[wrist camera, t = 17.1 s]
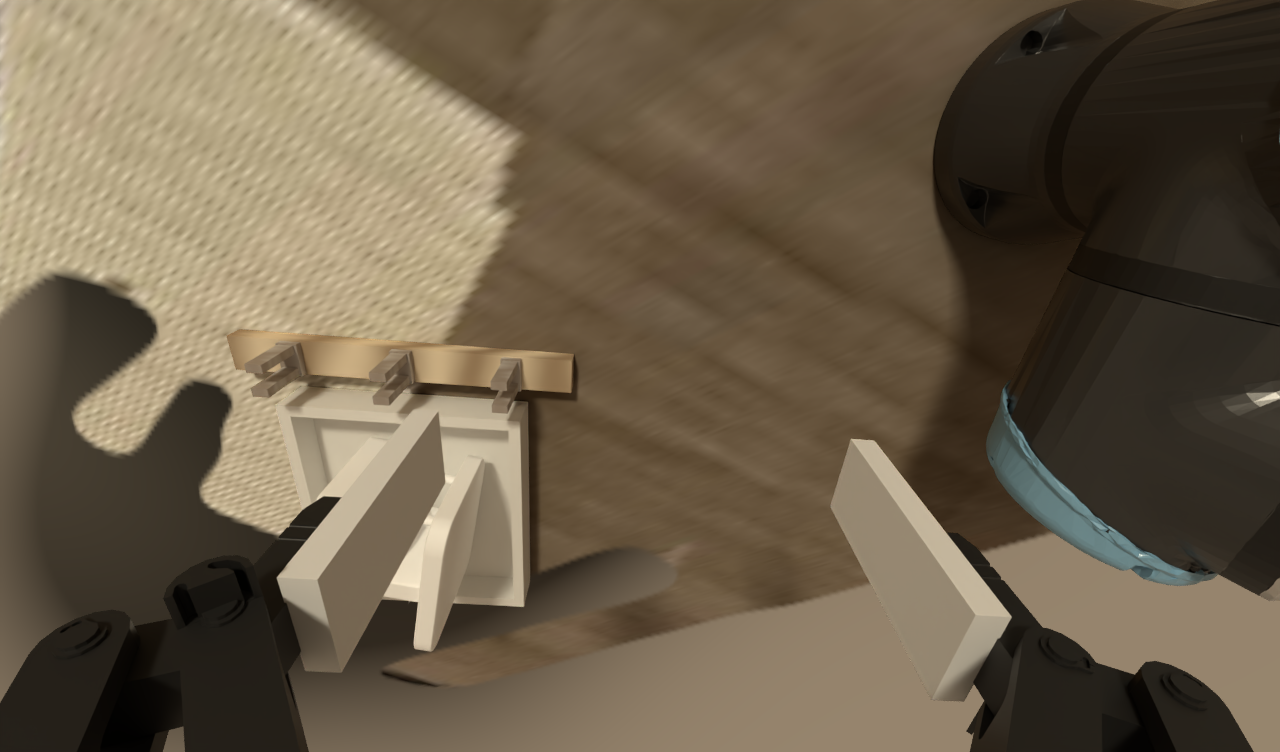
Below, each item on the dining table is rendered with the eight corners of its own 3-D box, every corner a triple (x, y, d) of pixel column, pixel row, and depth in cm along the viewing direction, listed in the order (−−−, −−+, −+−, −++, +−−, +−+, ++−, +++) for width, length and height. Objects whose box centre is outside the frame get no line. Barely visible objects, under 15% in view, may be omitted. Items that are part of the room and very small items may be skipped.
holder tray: (528, 401, 46) (520, 421, 42) (530, 579, 55) (523, 606, 52) (300, 385, 45) (275, 405, 42) (342, 569, 54) (324, 596, 51)
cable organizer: (471, 563, 53) (431, 669, 42) (367, 544, 52) (299, 648, 41) (491, 446, 47) (449, 536, 36) (373, 421, 46) (294, 507, 35)
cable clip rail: (573, 353, 44) (565, 385, 38) (573, 385, 45) (564, 419, 40) (239, 329, 42) (181, 357, 37) (248, 362, 44) (193, 394, 38)
